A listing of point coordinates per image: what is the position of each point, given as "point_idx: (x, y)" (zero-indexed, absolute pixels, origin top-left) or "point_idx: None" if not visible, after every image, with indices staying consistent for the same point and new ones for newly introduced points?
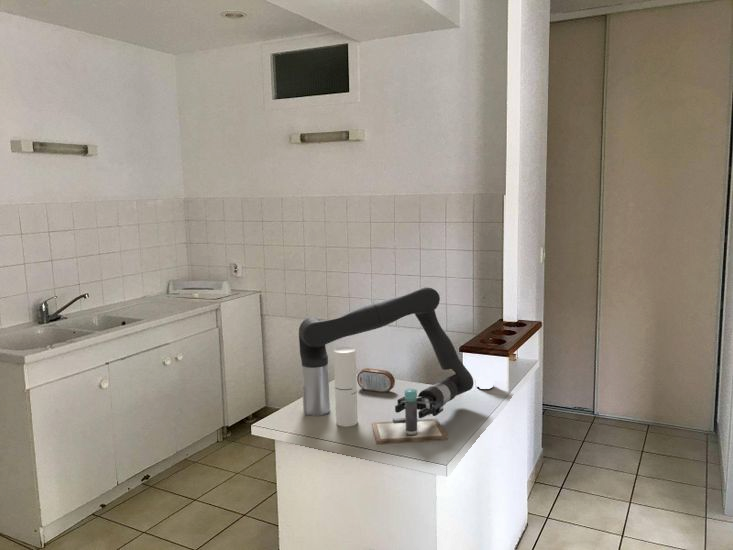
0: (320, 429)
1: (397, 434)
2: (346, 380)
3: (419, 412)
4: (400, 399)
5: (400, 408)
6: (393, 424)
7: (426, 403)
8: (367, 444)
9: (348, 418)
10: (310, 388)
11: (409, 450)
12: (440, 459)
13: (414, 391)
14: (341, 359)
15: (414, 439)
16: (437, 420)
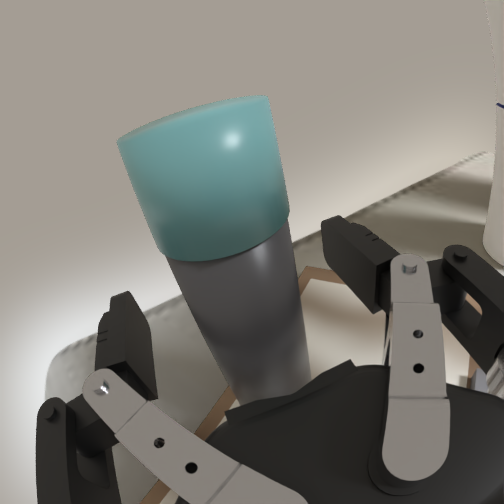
0: (466, 198)
1: (316, 344)
2: (495, 65)
3: (122, 295)
4: (470, 265)
5: (347, 266)
6: (449, 369)
7: (143, 409)
8: (318, 254)
9: (489, 218)
10: None
11: (179, 337)
12: (64, 371)
13: (139, 132)
14: None
15: (225, 392)
16: None
